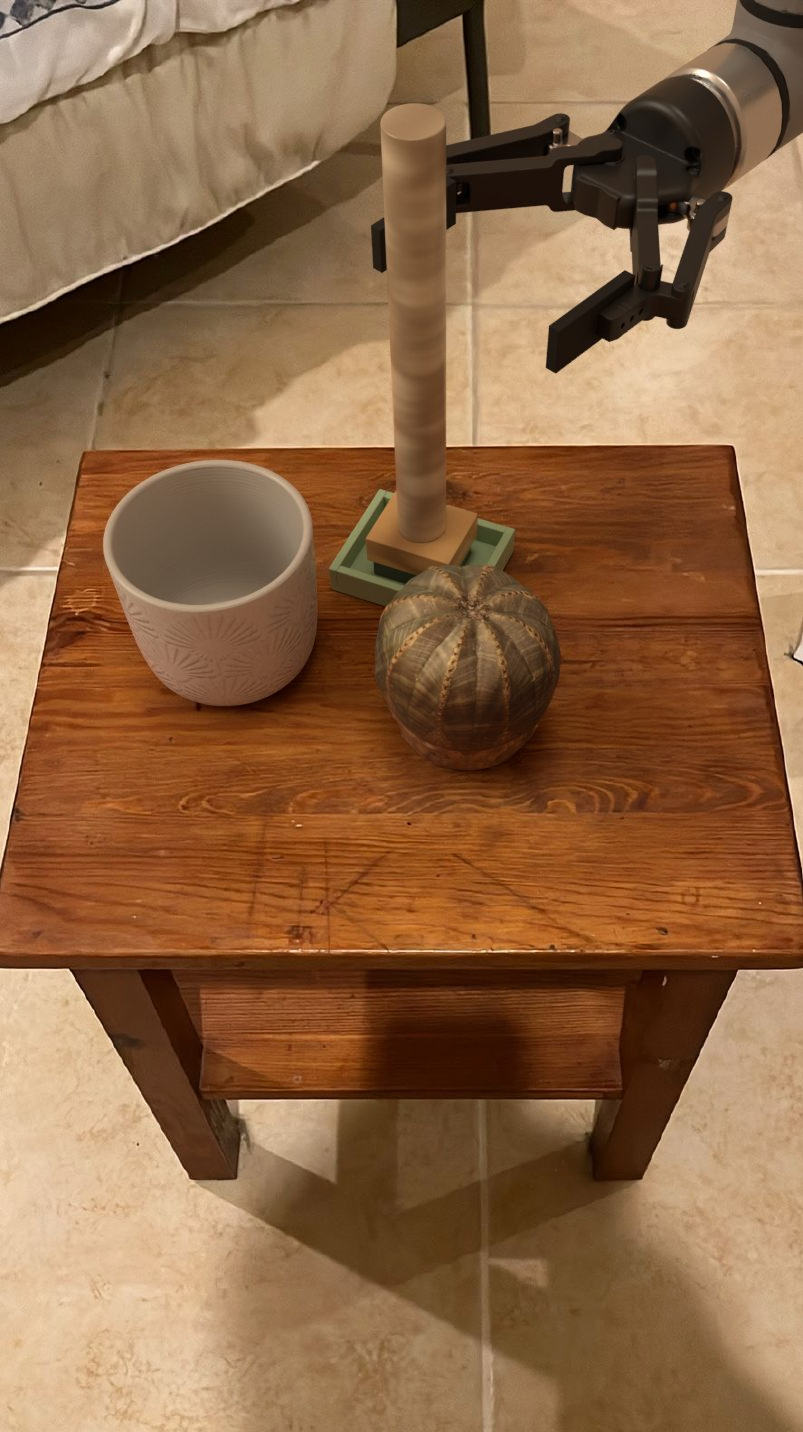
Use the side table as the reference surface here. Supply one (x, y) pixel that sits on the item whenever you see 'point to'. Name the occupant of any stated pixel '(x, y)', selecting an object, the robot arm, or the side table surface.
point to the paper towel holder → (417, 351)
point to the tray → (360, 581)
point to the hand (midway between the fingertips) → (460, 298)
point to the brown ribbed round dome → (466, 664)
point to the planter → (216, 578)
